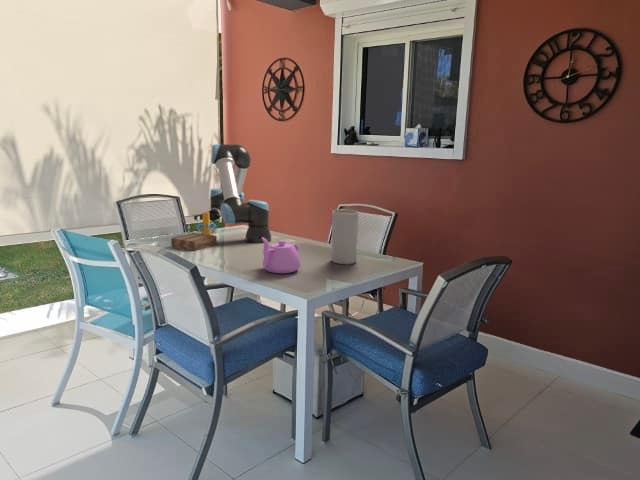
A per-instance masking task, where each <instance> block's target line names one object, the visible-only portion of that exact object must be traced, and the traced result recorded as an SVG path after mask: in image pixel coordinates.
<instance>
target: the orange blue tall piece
mask: <svg viewBox="0 0 640 480" xmlns="http://www.w3.org/2000/svg"><path fill="white" fill-rule="evenodd" d="M201 214H203V219H202V223H201V222H197V223H196V229H197V230H198V231H199V232H201V233H200V234H207V235H213V234H212V232H213V231H216V230H217V225H216V224H215V223H214V221H211V220H210V214H209V211H203V212H201ZM212 225H213V226H212ZM200 226H201V228H200Z"/></svg>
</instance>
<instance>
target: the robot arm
mask: <svg viewBox="0 0 640 480" xmlns="http://www.w3.org/2000/svg"><path fill="white" fill-rule="evenodd" d="M210 156H211V157H210V158H211V159H210V160H211V164H213V165H214V166H215V168H216V169H217V170H218V174H219V178H220V183H221V188H222V189H221V188H211V189H210V210H209V211H208V212H209V214H210V222H216V221H218V220H219V222H218V223H222V221H223V223H225V224H227V225H235V224H247V225H248V226H247V231H246V234H245V239H244V240H245V242H247V243H254V244H259V243H260V244H261V243H263V244H264V242H263V239H262V237H263V238H265V239H267V241H268V243H269V242H271V241H272V234H271V232H270V228H269V211H270V210H269V208H270V207H269V203H267V202H266V201H263V200H256V199H249V200H248V201H247V202H244V201H245V194H244V192H243V189H244V184H245V180H246V176H247V172H248V169H249V168H250V166H251V160H252V159H251V155H250V153H249V151H248V149H247V148H245V147H244V146H243V145H240V144H231V143H230V144H225V143H223V144H221V143H219V144H218V143H217V144H216V143H215V144H213V145H212V148H211V155H210ZM234 166H235V167H234ZM193 217H194V218H193V219H194V221H196V223H200V221H201V220H202V221H203V214H202V213H201V214H198V215H193Z"/></svg>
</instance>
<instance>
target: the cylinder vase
mask: <svg viewBox="0 0 640 480" xmlns="http://www.w3.org/2000/svg"><path fill="white" fill-rule="evenodd" d="M331 214H332V218H331V221H332V222H331V246H330V247H331V248H330V249H331V252H330V256H331V257H330V259H331V262H332V263H334V264H337V265H353V264H355V263H357V261H358V260H357V259H358V257H357V255H358V253H357V252H358V235H359V234H358V230H359V229H358V227H359V211H358V210H356V209H355V210H354V209H334V210H332V212H331Z"/></svg>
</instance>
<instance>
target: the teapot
mask: <svg viewBox="0 0 640 480" xmlns="http://www.w3.org/2000/svg"><path fill="white" fill-rule="evenodd" d="M262 239H263V242H264V243H263V249H262V250H263V251H262V253H263V261H262V265H263V269H264V270H266V271H267V272H270V273H273V274H280V275H284V274H290V273H295V272H296V271H297V270H298V269H299V268H300V267H301V265H302V264H301V262H302V260H301V258H300V255H299V253H298V252H299V247H298V245H297V244H296V243H288V242H287V241H286V240H284V239H281V240H278V241H277V242H276V243H272V244H271V245H270V246H269V242H268V241H267V239H265V238H263V237H262ZM286 242H287V243H286Z"/></svg>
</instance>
